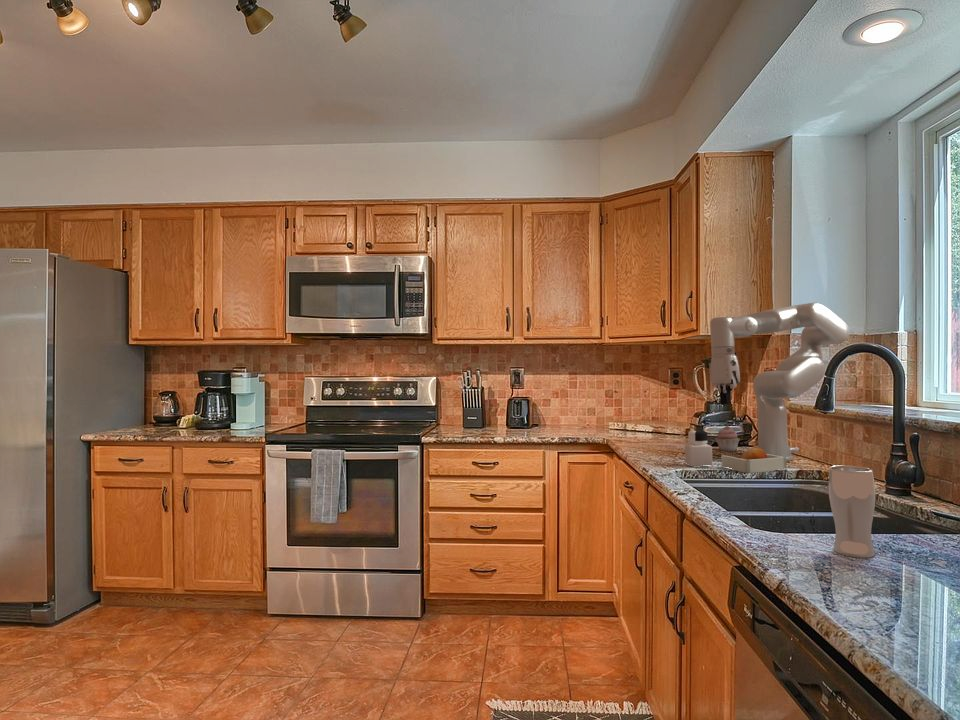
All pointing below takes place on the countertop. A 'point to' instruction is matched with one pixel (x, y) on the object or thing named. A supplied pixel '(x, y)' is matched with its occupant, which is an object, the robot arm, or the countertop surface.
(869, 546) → the beer glass
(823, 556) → the countertop surface
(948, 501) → the countertop surface
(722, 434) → the cupcake
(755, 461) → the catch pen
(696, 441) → the medicine bottle
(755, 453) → the fruit
